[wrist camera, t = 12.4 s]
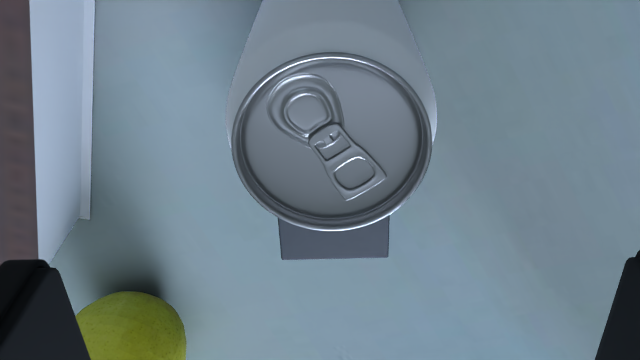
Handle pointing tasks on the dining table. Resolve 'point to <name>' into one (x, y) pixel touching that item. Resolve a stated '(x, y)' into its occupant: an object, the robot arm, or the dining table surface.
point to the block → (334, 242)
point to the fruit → (132, 328)
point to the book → (44, 123)
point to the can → (331, 112)
